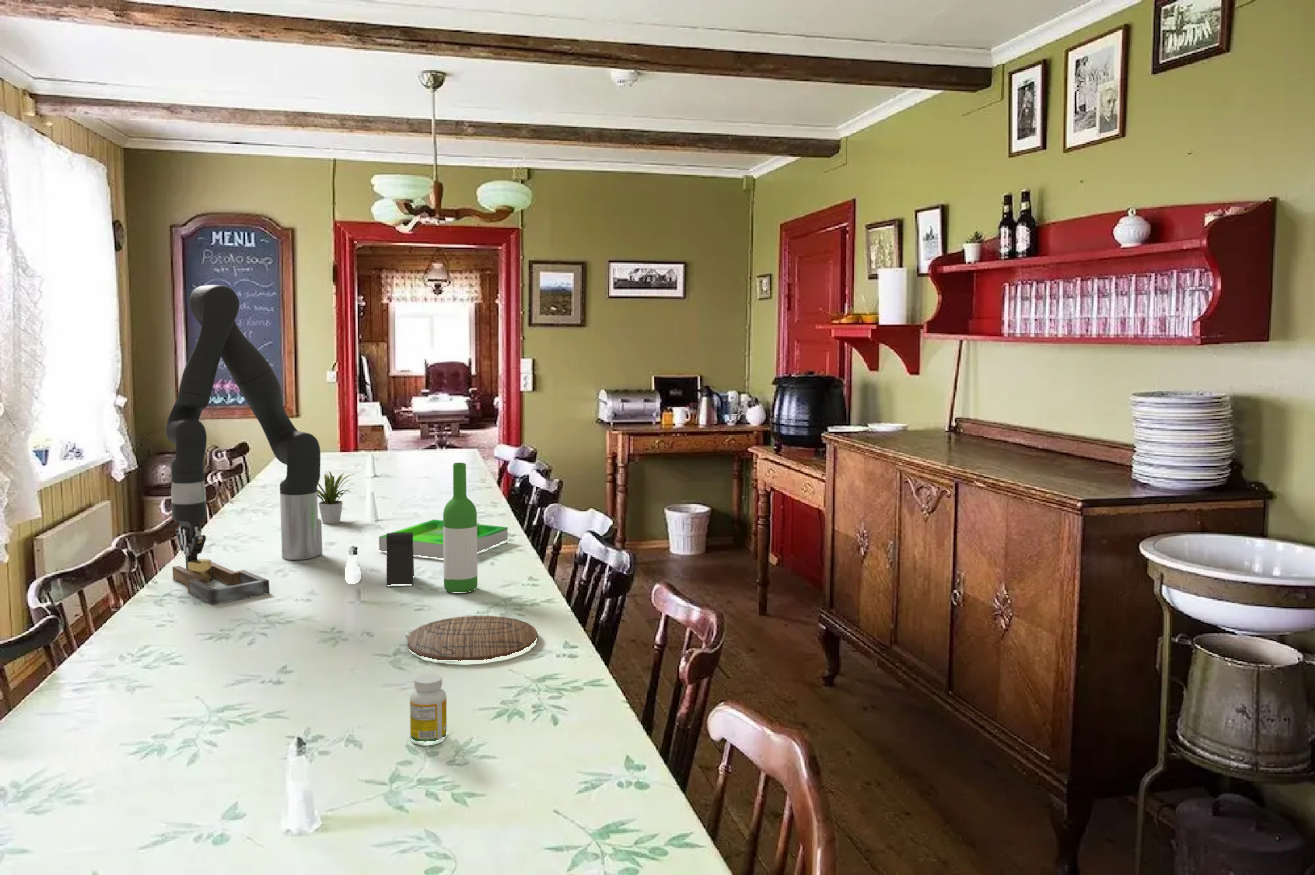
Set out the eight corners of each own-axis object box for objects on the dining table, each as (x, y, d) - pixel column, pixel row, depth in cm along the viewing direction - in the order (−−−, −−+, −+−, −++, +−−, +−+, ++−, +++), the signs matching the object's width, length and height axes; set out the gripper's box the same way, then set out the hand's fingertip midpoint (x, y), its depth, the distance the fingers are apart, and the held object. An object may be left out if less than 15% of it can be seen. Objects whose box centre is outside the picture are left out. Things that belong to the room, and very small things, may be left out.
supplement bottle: (424, 750, 141) (423, 688, 139) (403, 740, 144) (402, 678, 143) (454, 739, 145) (453, 677, 144) (432, 729, 148) (431, 669, 147)
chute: (218, 570, 238) (218, 559, 238) (269, 593, 219) (268, 580, 219) (163, 580, 229) (162, 568, 228) (211, 604, 210) (211, 591, 210)
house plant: (368, 521, 298) (367, 469, 296) (332, 529, 287) (330, 475, 285) (338, 515, 306) (336, 465, 304) (301, 523, 294) (299, 470, 292)
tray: (379, 554, 259) (378, 536, 258) (433, 536, 282) (433, 519, 281) (457, 564, 250) (457, 545, 249) (507, 544, 273) (507, 527, 272)
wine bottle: (469, 596, 219) (468, 466, 216) (438, 593, 221) (436, 465, 217) (482, 587, 227) (481, 461, 223) (452, 584, 229) (450, 460, 225)
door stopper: (412, 586, 227) (411, 537, 225) (386, 587, 225) (385, 537, 224) (414, 576, 235) (413, 528, 234) (389, 577, 234) (388, 529, 233)
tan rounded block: (206, 576, 233) (205, 558, 233) (215, 580, 230) (214, 561, 229) (185, 579, 230) (184, 561, 229) (193, 583, 226) (193, 565, 226)
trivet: (540, 664, 178) (540, 654, 178) (401, 670, 174) (401, 660, 173) (535, 622, 202) (535, 613, 202) (413, 626, 198) (413, 617, 198)
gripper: (216, 501, 229) (218, 572, 231) (194, 494, 238) (196, 562, 240) (183, 505, 223) (186, 578, 226) (162, 498, 232) (165, 567, 234)
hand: (191, 569), depth 233 cm, fingers closed
